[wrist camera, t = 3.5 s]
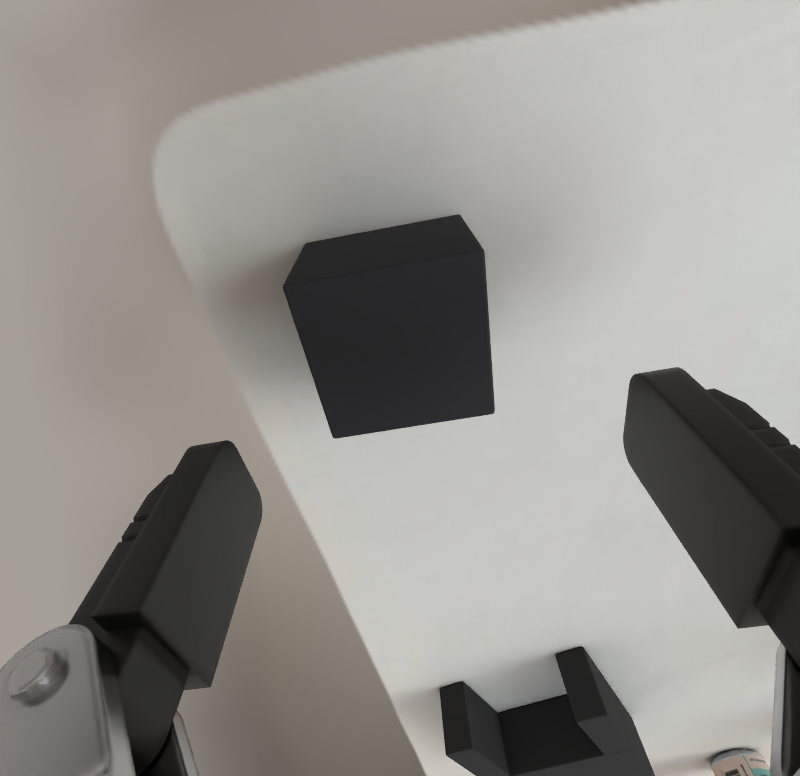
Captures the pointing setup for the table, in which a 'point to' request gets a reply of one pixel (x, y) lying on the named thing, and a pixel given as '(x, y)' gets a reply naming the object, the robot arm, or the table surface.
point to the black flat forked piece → (546, 730)
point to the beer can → (740, 764)
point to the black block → (395, 325)
